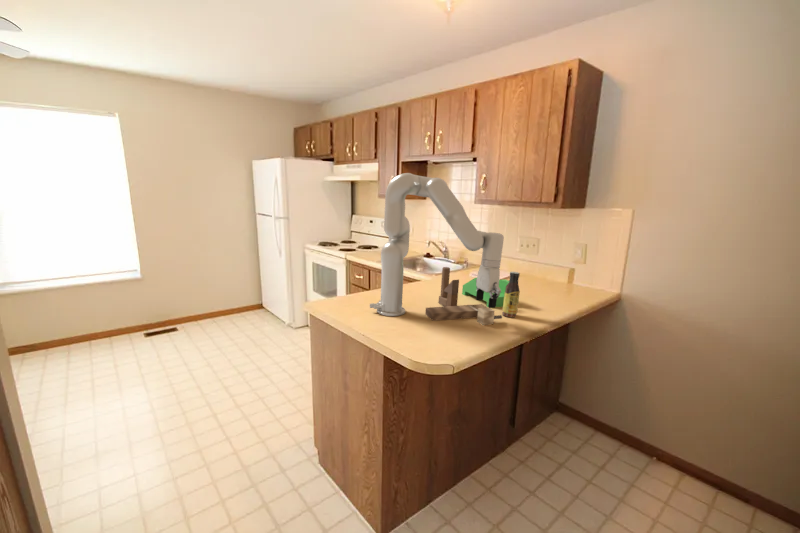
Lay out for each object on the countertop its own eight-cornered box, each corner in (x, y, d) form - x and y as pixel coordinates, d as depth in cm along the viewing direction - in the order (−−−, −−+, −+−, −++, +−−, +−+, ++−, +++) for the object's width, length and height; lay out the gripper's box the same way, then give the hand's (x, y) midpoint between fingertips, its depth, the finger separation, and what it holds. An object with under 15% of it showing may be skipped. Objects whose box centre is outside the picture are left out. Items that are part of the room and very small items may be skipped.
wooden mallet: (450, 309, 163) (453, 271, 160) (438, 303, 173) (440, 267, 169) (457, 309, 165) (460, 271, 161) (444, 302, 174) (447, 266, 171)
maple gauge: (482, 325, 145) (484, 311, 144) (477, 321, 150) (478, 308, 148) (503, 323, 149) (505, 310, 147) (497, 319, 153) (498, 306, 152)
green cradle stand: (511, 306, 174) (514, 282, 172) (489, 308, 169) (492, 284, 166) (482, 293, 195) (484, 271, 193) (461, 294, 190) (463, 273, 188)
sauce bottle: (508, 318, 155) (513, 274, 151) (498, 314, 160) (503, 271, 156) (519, 317, 158) (525, 273, 154) (509, 312, 163) (514, 270, 159)
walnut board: (432, 320, 148) (433, 313, 148) (425, 314, 156) (425, 307, 155) (490, 316, 157) (491, 309, 156) (481, 310, 164) (481, 303, 164)
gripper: (471, 258, 150) (467, 297, 154) (494, 268, 134) (488, 311, 138) (487, 259, 152) (482, 297, 156) (511, 268, 136) (505, 310, 140)
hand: (485, 303), depth 147 cm, fingers open, 9 cm apart
